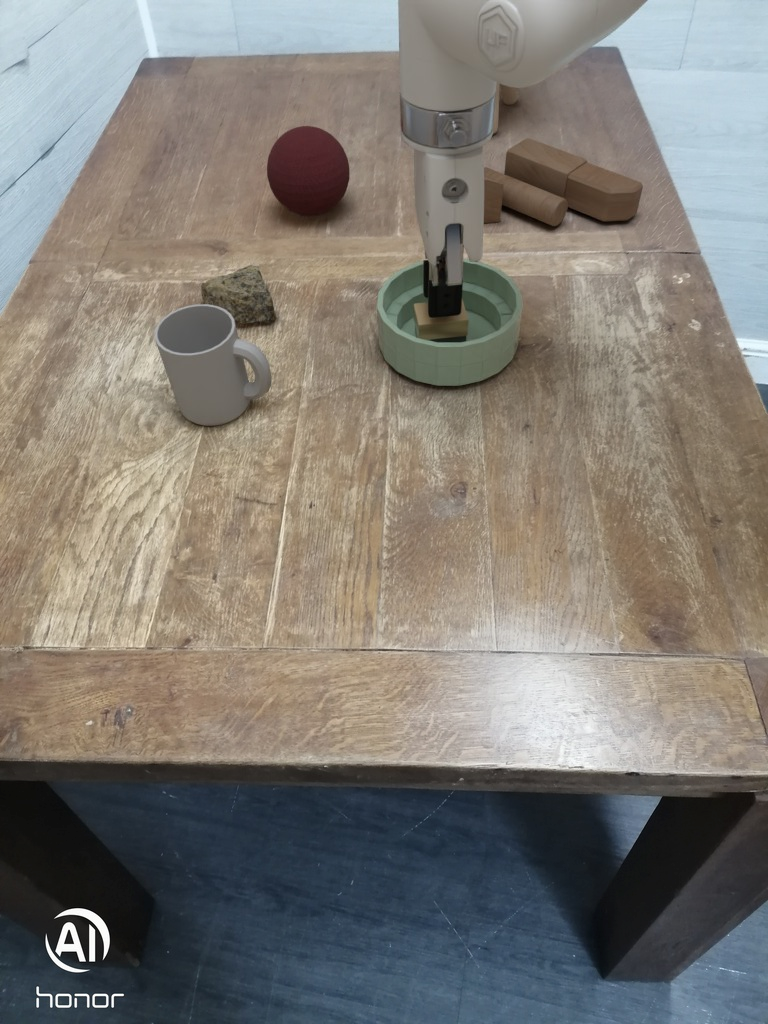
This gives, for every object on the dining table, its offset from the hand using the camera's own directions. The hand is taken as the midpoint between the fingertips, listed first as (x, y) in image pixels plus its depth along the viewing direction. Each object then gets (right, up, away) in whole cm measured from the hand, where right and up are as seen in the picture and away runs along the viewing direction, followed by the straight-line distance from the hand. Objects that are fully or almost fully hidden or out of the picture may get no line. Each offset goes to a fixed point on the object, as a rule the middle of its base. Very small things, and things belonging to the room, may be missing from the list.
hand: (441, 303), depth 76 cm
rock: (-21, +2, +9) cm, 23 cm away
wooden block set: (+13, +15, +18) cm, 26 cm away
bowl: (+1, -3, +4) cm, 5 cm away
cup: (-21, -10, 0) cm, 23 cm away
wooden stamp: (0, -3, +3) cm, 4 cm away
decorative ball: (-15, +17, +21) cm, 31 cm away
